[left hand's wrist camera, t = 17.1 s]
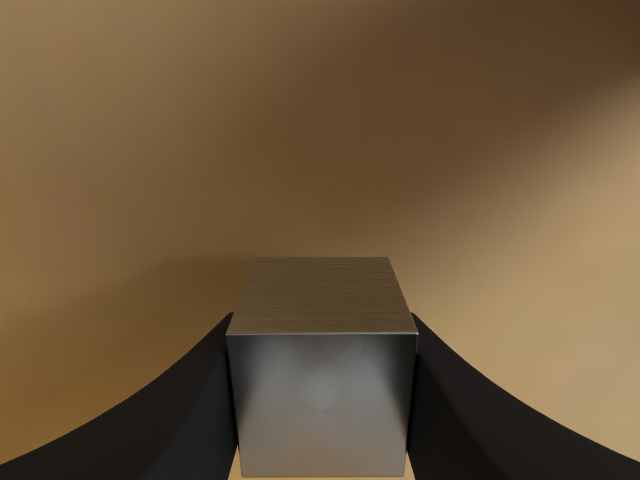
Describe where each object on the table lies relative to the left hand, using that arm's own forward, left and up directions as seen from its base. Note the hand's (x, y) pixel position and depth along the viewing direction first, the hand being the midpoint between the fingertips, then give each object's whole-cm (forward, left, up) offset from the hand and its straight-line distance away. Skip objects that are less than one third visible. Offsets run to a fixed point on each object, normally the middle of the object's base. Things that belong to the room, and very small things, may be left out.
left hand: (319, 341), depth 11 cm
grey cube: (0, 0, -1) cm, 1 cm away
